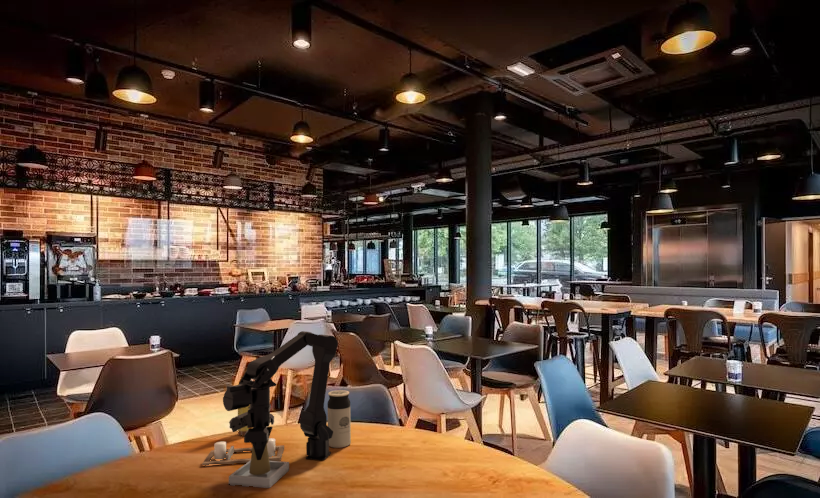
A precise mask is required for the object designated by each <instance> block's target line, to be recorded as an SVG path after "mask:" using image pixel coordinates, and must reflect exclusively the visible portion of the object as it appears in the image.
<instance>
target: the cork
mask: <svg viewBox="0 0 820 498" xmlns="http://www.w3.org/2000/svg"><path fill="white" fill-rule="evenodd" d="M269 438H270V437H269ZM269 438H268V441H269ZM268 441H267V443H268ZM250 444H251V445H252V447H251V448H252V452H251V454H250V455H251V456H250V458H251V463H250V471H249V473H250V474H252V475H261V474H265V473H268V472H269V471H270V462H269V455H268V448H267V444H266V447H265V449H264V452H263V455H262V458H261V460H257V458H256V454H255V451H254V447H253V444H252V443H250Z"/></svg>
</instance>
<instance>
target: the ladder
mask: <svg viewBox="0 0 820 498" xmlns="http://www.w3.org/2000/svg"><path fill="white" fill-rule="evenodd" d="M243 451H252V447H240V448H239V447H238V448H235V445H230V447H229V448H228V449H227V448H226V452H228V453H227V454H226V459H225V460H220V461H215V460H211V458H212V457H213V455H214V449H211V450H210V451H209V453H208V454H207V456H206V457H205V459H204V460H203V462H202V464H201V465H209V464H232V465H235V464H234V463H247V462H249V461H250V460H251V457H250V458H247V457H246V458H238V459H237V458H235V459H232V458H231V456H232V455H233V456H234V454H235V453H234V452H243ZM275 451H277V453H276V455H275V456H273V457H269V461H282V457H283V455H282V454H284V451H285V445H283V444H282V445H275ZM233 453H234V454H233ZM233 456H232V457H233ZM213 458H214V457H213ZM213 458H212V459H213ZM230 458H231V459H230ZM210 460H211V461H210Z"/></svg>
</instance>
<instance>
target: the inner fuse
mask: <svg viewBox="0 0 820 498" xmlns="http://www.w3.org/2000/svg"><path fill="white" fill-rule="evenodd" d="M275 446H276V438H273V437H272V438H271V437H269V441H268V443H267V448H268V455H269V457H272V456H273V457H275V456H276V450H275Z"/></svg>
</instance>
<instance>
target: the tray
mask: <svg viewBox="0 0 820 498" xmlns="http://www.w3.org/2000/svg"><path fill="white" fill-rule="evenodd" d="M269 462H270V471H269V472H268V473H265V474H261V475H252V474H250V473H249V471H250V463H251V460H250V461H249V462H247V463H246V464H244V465H242V466H241V467H239V468H238V469H236V470H235V471H233V472H232V473H231V474H230V475H228V485H229V484H230V485H229V486H235V485H242V486H241V487H249V486H253V488H263V489H264V488H265V489H270V488H271V487H272V486H273V485H275V484H276V483H277V482H278V481H279V480H280V479H281V478H283V477H284V476H285V475H286V474H287V473H288V472H289V471H290V461H282V460H281V461H269Z"/></svg>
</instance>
